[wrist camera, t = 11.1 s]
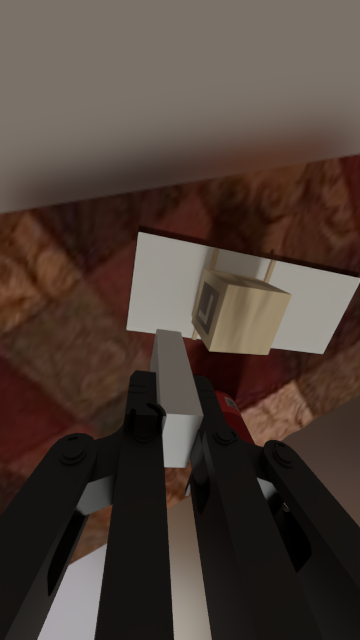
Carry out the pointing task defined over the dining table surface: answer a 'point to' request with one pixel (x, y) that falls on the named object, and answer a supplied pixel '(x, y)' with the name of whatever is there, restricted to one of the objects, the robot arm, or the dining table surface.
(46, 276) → the dining table surface
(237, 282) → the tan cube
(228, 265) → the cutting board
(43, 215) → the dining table surface
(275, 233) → the dining table surface
